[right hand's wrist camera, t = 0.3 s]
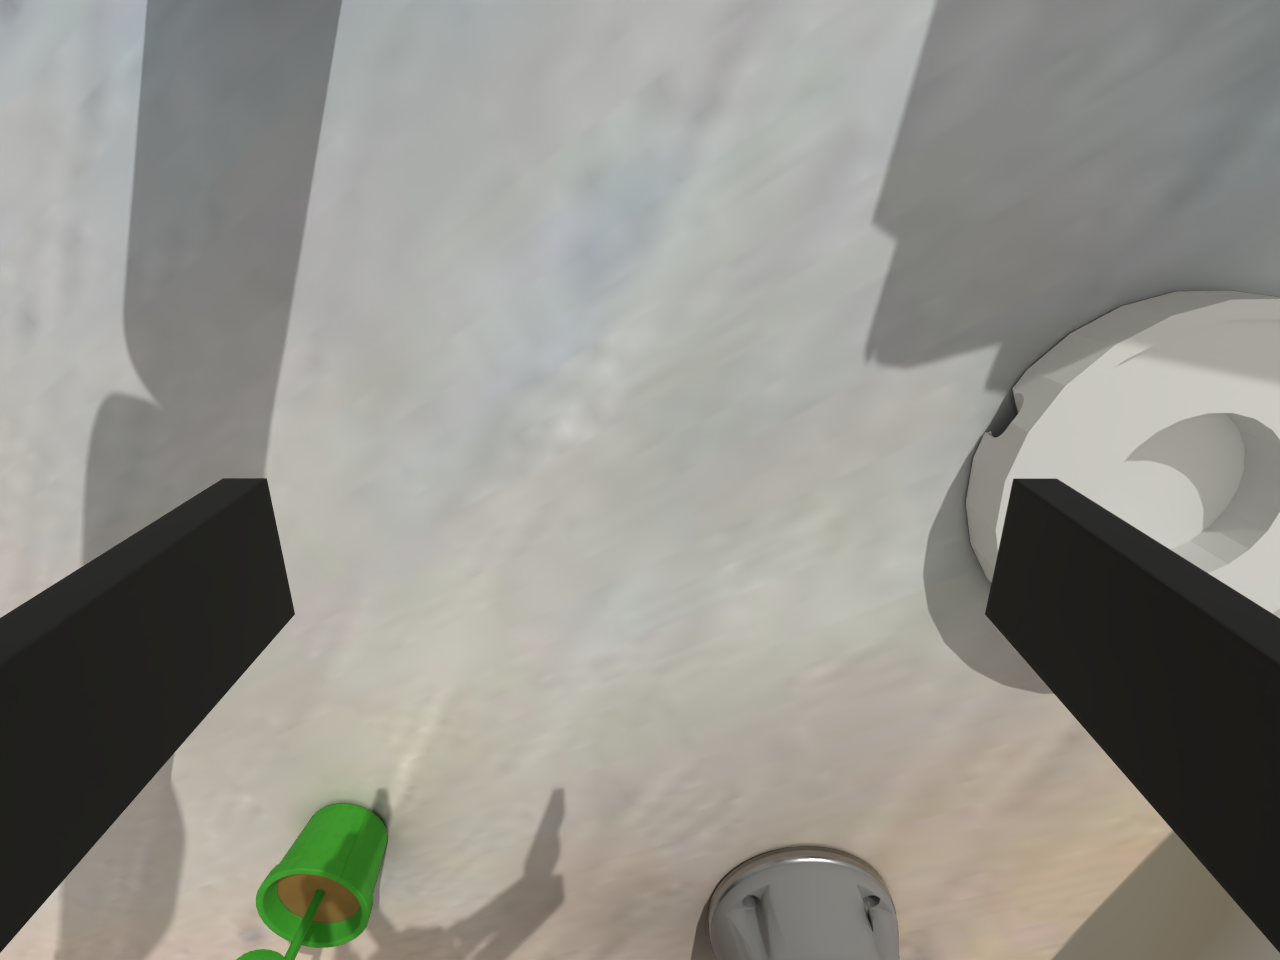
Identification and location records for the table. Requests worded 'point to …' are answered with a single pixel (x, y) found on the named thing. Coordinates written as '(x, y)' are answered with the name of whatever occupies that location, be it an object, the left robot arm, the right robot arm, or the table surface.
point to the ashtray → (1156, 433)
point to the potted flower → (323, 881)
